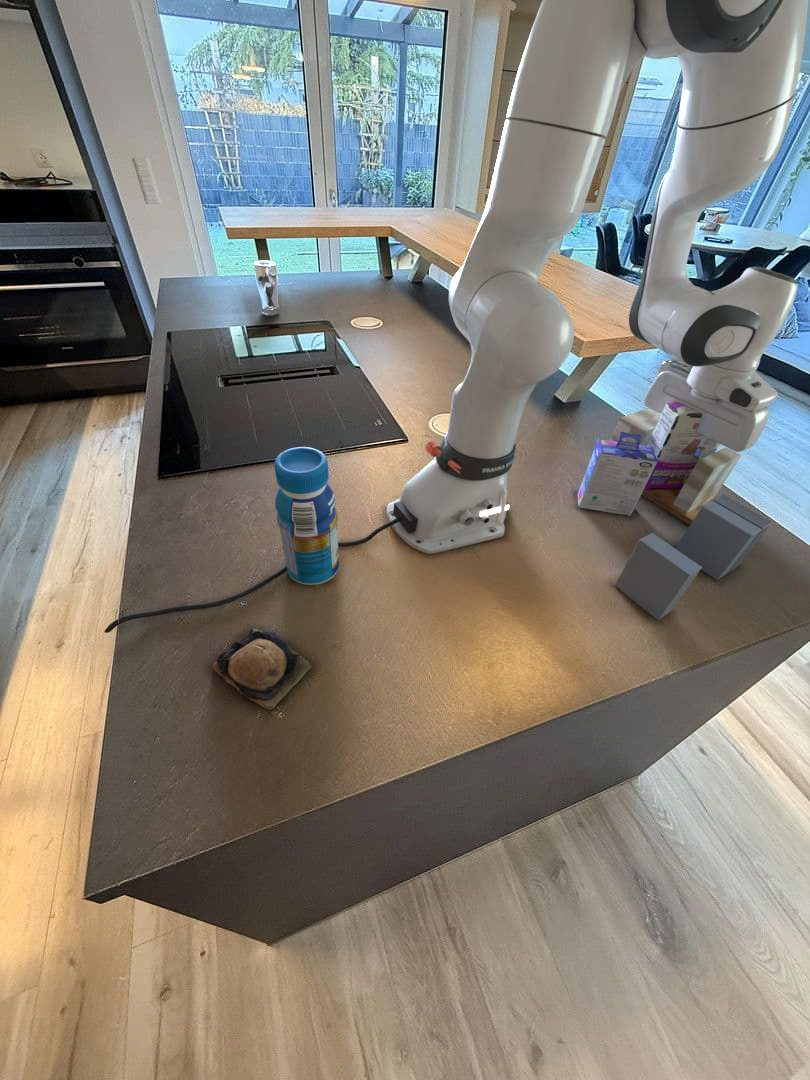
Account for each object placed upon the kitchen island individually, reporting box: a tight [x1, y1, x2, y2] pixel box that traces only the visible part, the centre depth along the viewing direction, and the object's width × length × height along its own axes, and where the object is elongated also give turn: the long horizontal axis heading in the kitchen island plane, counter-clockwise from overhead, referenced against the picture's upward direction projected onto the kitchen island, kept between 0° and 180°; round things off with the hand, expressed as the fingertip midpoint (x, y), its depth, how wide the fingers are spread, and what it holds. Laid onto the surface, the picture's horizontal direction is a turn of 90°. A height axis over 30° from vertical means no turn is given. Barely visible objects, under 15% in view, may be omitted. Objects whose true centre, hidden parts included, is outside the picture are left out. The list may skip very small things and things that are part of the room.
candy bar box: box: [644, 403, 719, 490], centre depth 88 cm, size 11×5×16 cm, turn 95°
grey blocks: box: [614, 494, 773, 621], centre depth 72 cm, size 22×8×10 cm, turn 123°
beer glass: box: [253, 260, 280, 317], centre depth 152 cm, size 7×7×15 cm
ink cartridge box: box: [577, 432, 658, 517], centre depth 84 cm, size 10×6×14 cm, turn 78°
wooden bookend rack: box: [610, 407, 742, 526], centre depth 90 cm, size 11×23×11 cm, turn 33°
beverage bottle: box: [274, 446, 340, 586], centre depth 66 cm, size 8×8×20 cm
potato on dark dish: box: [212, 628, 312, 711], centre depth 58 cm, size 11×8×4 cm
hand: (680, 447), depth 88 cm, fingers closed on candy bar box, 6 cm apart
